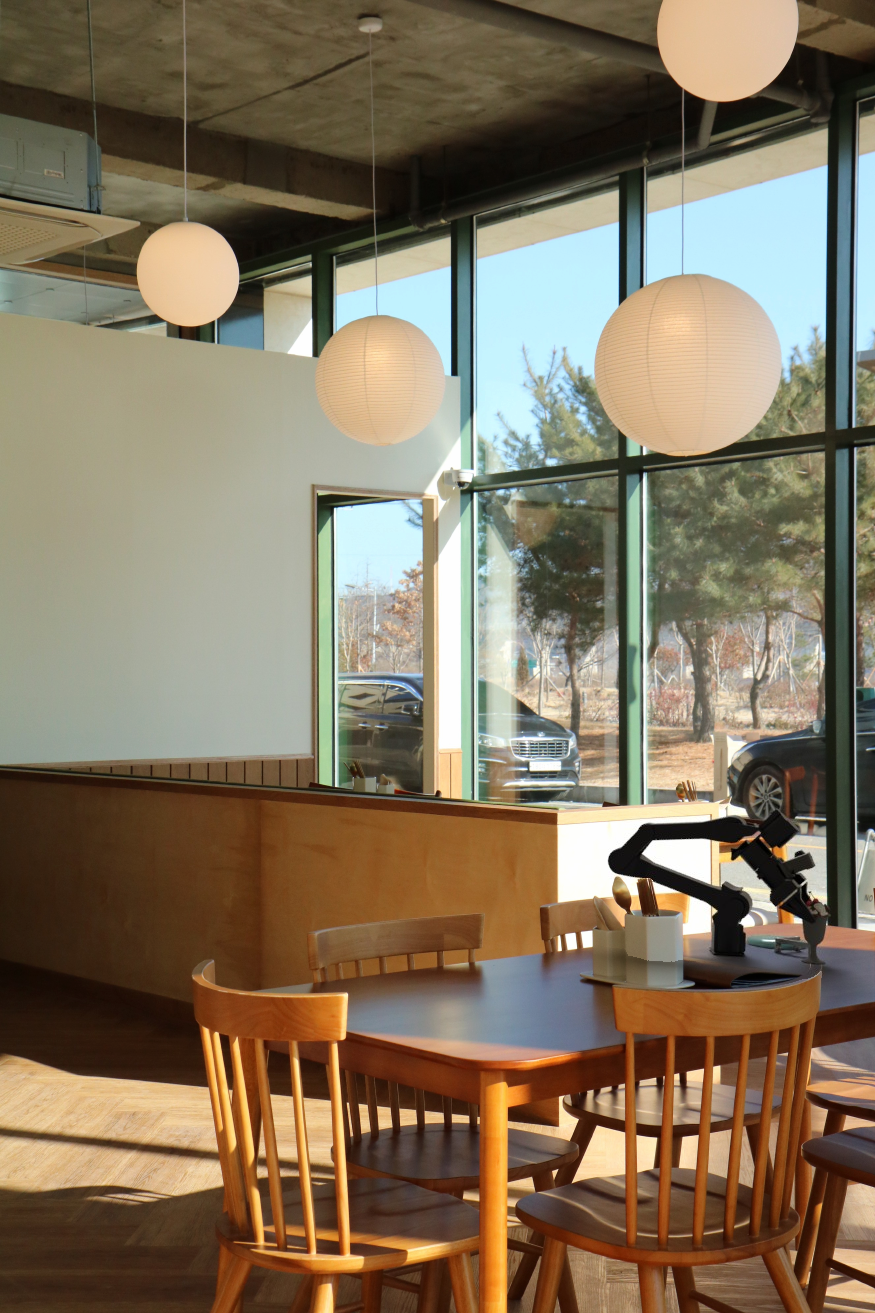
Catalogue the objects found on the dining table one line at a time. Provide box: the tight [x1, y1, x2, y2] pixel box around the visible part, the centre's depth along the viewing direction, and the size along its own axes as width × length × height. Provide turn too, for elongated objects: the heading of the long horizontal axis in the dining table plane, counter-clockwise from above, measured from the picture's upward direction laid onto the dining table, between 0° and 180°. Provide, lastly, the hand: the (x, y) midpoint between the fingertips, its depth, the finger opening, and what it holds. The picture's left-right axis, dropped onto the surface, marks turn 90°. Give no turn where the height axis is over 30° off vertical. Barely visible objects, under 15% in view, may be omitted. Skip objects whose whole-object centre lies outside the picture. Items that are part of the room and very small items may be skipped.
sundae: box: [800, 890, 831, 965], centre depth 280 cm, size 7×7×15 cm
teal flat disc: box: [746, 934, 806, 950], centre depth 301 cm, size 13×13×1 cm
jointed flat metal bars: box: [774, 935, 811, 958], centre depth 289 cm, size 7×10×3 cm
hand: (816, 919), depth 280 cm, fingers open, 9 cm apart
